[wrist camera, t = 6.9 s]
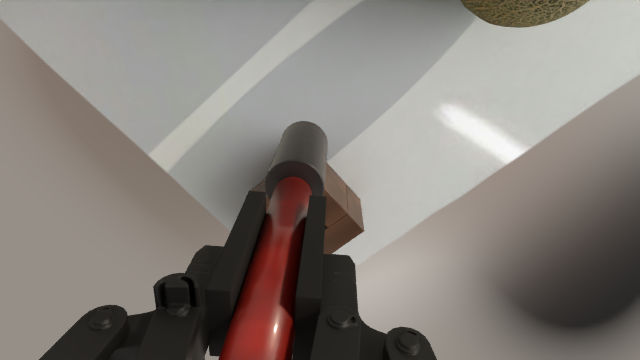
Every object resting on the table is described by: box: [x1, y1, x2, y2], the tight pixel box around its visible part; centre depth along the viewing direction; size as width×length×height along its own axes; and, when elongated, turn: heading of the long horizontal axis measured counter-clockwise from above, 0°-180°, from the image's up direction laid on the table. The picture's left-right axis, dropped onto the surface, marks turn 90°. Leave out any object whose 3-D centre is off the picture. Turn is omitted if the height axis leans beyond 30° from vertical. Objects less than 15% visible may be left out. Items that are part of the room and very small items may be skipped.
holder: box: [251, 162, 364, 254], centre depth 43 cm, size 9×9×7 cm
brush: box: [219, 121, 327, 360], centre depth 18 cm, size 3×3×21 cm
